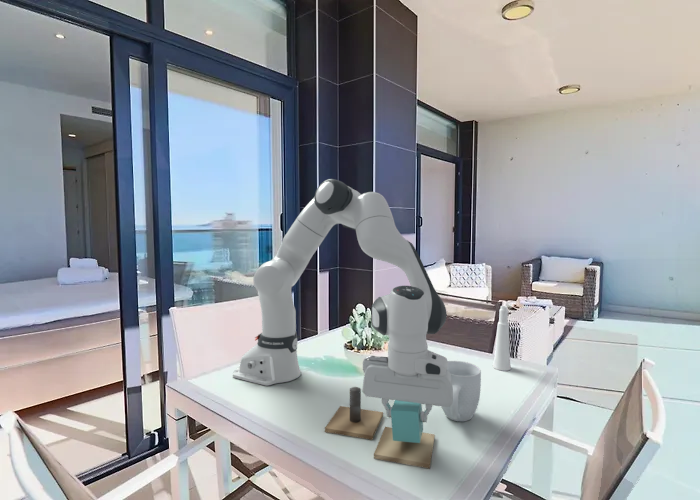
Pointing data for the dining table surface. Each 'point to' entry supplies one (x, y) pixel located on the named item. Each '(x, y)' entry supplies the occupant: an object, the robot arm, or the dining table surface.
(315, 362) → the dining table surface
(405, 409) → the teal rectangular block
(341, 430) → the post stand
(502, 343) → the cosmetic bottle
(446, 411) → the mug
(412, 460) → the oak pad
